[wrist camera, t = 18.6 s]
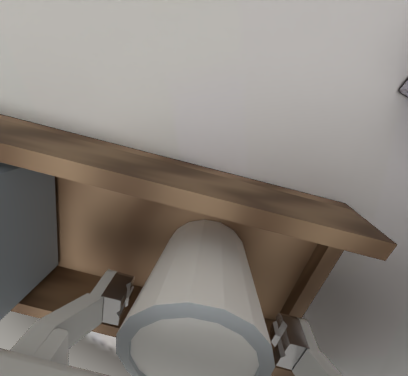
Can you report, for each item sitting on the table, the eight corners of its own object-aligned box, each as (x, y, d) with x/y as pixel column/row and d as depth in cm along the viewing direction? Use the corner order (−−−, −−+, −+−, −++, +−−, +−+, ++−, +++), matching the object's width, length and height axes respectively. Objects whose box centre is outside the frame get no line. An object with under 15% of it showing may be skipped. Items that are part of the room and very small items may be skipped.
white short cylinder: (250, 289, 16) (268, 413, 10) (164, 285, 17) (127, 399, 10) (256, 212, 14) (286, 311, 7) (154, 210, 14) (97, 300, 8)
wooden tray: (345, 203, 14) (426, 267, 8) (279, 319, 18) (303, 411, 13) (-31, 106, 14) (-204, 106, 8) (-5, 248, 18) (-105, 310, 13)
